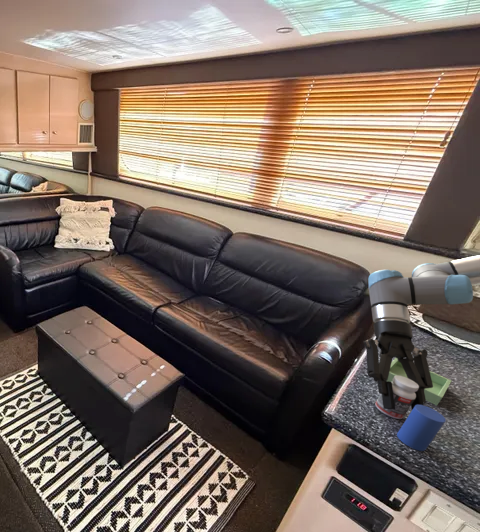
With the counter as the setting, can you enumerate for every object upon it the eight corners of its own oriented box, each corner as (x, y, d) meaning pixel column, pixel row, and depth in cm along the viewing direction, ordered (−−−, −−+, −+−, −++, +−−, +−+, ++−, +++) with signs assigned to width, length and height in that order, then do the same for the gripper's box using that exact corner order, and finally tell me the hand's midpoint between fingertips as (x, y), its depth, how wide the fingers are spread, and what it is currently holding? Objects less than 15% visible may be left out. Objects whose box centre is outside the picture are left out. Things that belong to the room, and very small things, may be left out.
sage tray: (446, 388, 96) (451, 380, 95) (436, 405, 88) (442, 397, 87) (392, 363, 106) (397, 356, 104) (379, 377, 97) (383, 369, 96)
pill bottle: (391, 420, 81) (409, 390, 77) (369, 403, 86) (385, 374, 82) (408, 419, 82) (428, 389, 78) (385, 402, 87) (402, 373, 83)
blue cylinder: (427, 445, 75) (447, 416, 71) (422, 454, 72) (443, 425, 69) (399, 429, 78) (417, 401, 75) (394, 438, 76) (412, 409, 72)
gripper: (418, 333, 90) (434, 421, 81) (344, 319, 93) (351, 402, 85) (443, 327, 83) (463, 422, 74) (362, 312, 87) (372, 401, 78)
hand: (404, 411), depth 79 cm, fingers closed on pill bottle, 6 cm apart
